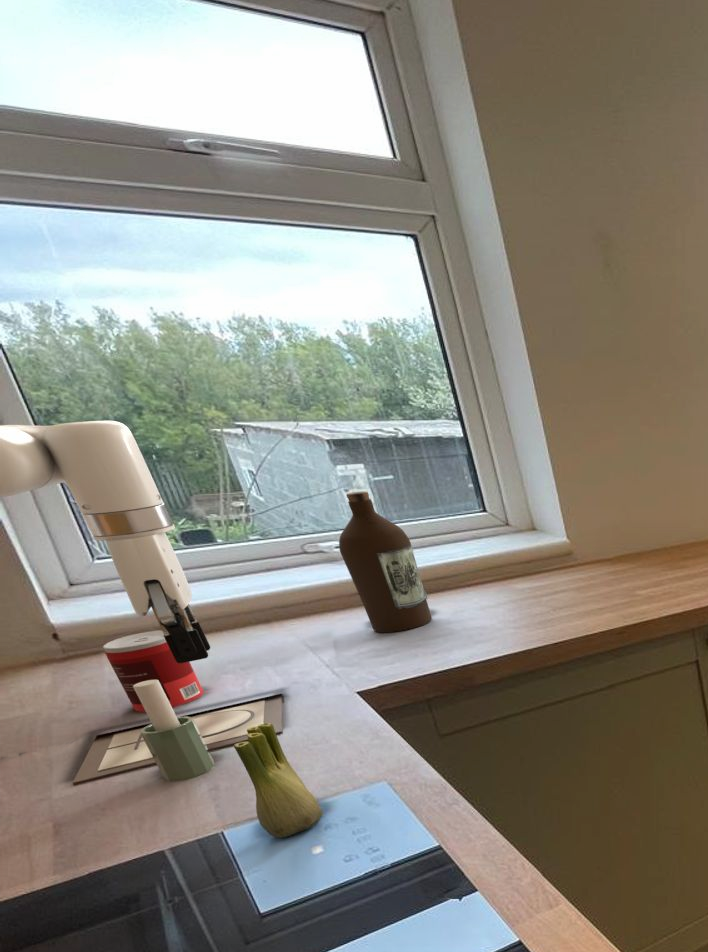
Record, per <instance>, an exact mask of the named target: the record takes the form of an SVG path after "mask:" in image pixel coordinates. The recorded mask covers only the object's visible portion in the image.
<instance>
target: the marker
mask: <svg viewBox="0 0 708 952" xmlns="http://www.w3.org/2000/svg"><path fill="white" fill-rule="evenodd" d="M133 687H134V689H135V691H136V693H137V695H138V697H139V699H140V701H141V703H142V705H143V707H144V709H145V711H144V712H145V713H146V715H147V717H148V719H149V721H150V723H152V725H153V727H154V728H155V730H156V731H162V730H166V729H171V728H174V727H176V726H179V725H180V723H179V721H178V719H177V717H178V716H177V714H176V713H175V711H174V709H173V707H171V705H170V703H169V701H168V699H167V697H166V695H165V693H164V691H163V689H162V686H161V684H160V682H159V681H158V680H148V681H143V682H140V683H137V684H135V685H133Z"/></svg>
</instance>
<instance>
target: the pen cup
mask: <svg viewBox="0 0 708 952" xmlns="http://www.w3.org/2000/svg"><path fill="white" fill-rule="evenodd" d="M184 716H185V715H184ZM176 717H177V719H178V721H179V723H180V725H179V726H176V727H174V728H171V729H166V730H162V731H156V730H155V728H154V727H153V725H152V724H150V725H148V726H146V727H144V728H143V729H141V731H140V733H141V735H142V737H143V739H144V741H145V743H146V745H147V747H148V749H149V751H150V753H151V754H152V756H153V758H154V760H155V762H156V764H157V765H156V766H157V768H158V771H159V772H160V774H161V776H162V777H163V779H164V781H166V782H179V781H185V780H189V779H193V778H196V777H199V776H202V775H204V774H206V773H209V772H210V771H211V770H213V769H215V767H216V763H215V761H214V758H213V757H212V754H211V751H210V752H209V750H208V748H207V746H206V744H205V742H204V740H203V738H202V736H201V734H200V732H199V730H198V728H197V726H196V724H195V722H194V720H193V718H192V717H187V716H185V717H180V716H176Z"/></svg>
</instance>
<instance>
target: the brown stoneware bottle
mask: <svg viewBox="0 0 708 952" xmlns="http://www.w3.org/2000/svg"><path fill="white" fill-rule="evenodd" d="M346 497H347V499H348V502H347V503H348V506H349V509H350V510H351V513H352V515H351V518H350V520H349V521H348V523H347V524H346V526H345V527H344V528H343V530H342V531H341V533H340V535H339V539H338V548H339V552H340V555H341V557H342V559H343V562H344V564H345V566H346V568H347V572H348V573H349V575H350V578H351V580H352V582H353V584H354V587H355V589H356V591H357V593H358V596H359V598H360V600H361V603H362V605H363V608H364V610H365V613H366V615H367V617H368V620H369V623H370V624H371V625H370V626H371V627H372V629H373V631H374V632H377V633H393V632H394V633H396V632H404V631H407V630H412V629H415V628H419V627H422V626H424V625H426V624H428V623H430V622H431V621H432V620H433V619H432V618H433V617H432V613H431V610H430V608H429V604H428V601H427V600H428V598H429V597H428V594H427V591H426V590H425V589H424V587H423V583H422V579H421V576H420V573H419V568H418V565H417V561H416V557H415V554H414V550H413V547H412V543H411V540H410V538H409V537H408V534H407V533H406V532H405V530H404V529H402V528H401V527H400V526H398V524H396V523H394V522H392V521H390V520H388V519H387V518H385V517H384V516H382V515H381V514H379V513H378V512H376V510H375V507H374V504H373V501H372V499H371V498H370V494H369V492H368V491H365V490H364V491H353V492H349V493H346Z"/></svg>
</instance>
